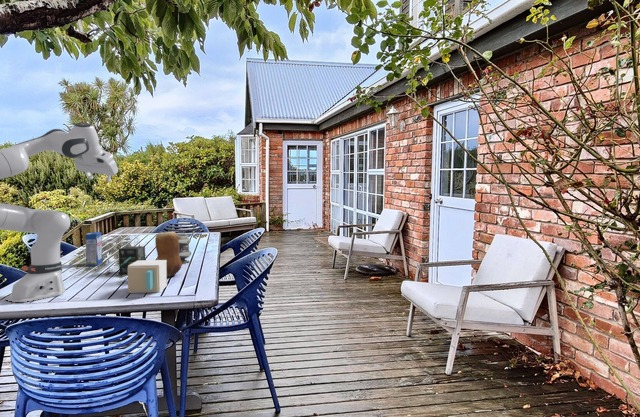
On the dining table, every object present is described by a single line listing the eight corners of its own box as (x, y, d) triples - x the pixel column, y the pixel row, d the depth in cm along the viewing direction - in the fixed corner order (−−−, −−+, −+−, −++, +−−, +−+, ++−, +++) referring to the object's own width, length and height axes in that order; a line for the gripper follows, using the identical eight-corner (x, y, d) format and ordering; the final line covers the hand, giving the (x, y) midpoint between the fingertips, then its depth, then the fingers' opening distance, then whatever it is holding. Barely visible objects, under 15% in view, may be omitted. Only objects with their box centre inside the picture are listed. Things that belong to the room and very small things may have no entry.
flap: (154, 293, 176) (153, 269, 176) (123, 294, 175) (123, 270, 174) (158, 289, 182) (157, 266, 182) (129, 290, 181) (128, 267, 180)
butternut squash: (160, 273, 220) (159, 230, 218) (184, 273, 221) (183, 229, 220) (152, 279, 206) (151, 233, 205) (178, 279, 208) (177, 232, 206)
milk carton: (97, 265, 241) (96, 234, 240) (86, 266, 239) (85, 234, 238) (102, 262, 251) (101, 232, 249) (92, 263, 249) (90, 232, 248)
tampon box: (146, 270, 228) (145, 246, 227) (137, 274, 219) (136, 248, 218) (128, 270, 229) (127, 245, 228) (119, 273, 220) (118, 248, 219)
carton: (159, 292, 183) (158, 264, 182) (128, 292, 181) (127, 265, 181) (167, 285, 195) (166, 259, 194) (138, 286, 193) (137, 260, 193)
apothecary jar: (168, 263, 250) (167, 235, 249) (184, 260, 259) (184, 233, 258) (177, 265, 242) (177, 237, 241) (195, 262, 251) (194, 235, 250)
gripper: (68, 155, 184) (76, 180, 192) (108, 160, 182) (115, 185, 190) (76, 149, 189) (84, 174, 197) (116, 154, 187) (122, 179, 195)
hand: (100, 179), depth 193 cm, fingers open, 8 cm apart
